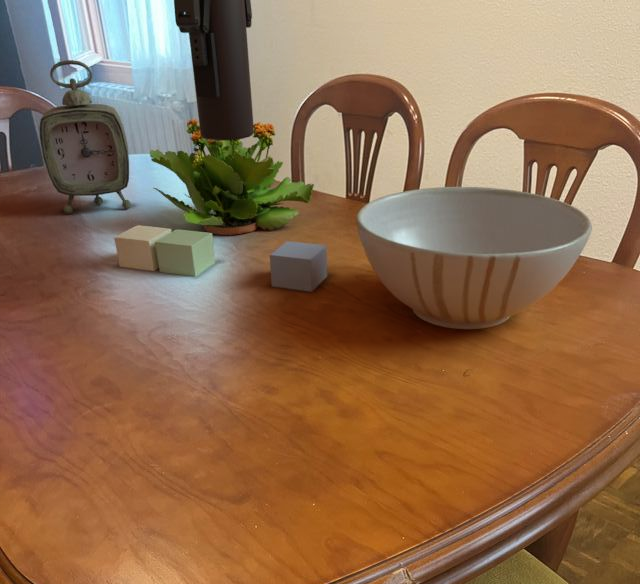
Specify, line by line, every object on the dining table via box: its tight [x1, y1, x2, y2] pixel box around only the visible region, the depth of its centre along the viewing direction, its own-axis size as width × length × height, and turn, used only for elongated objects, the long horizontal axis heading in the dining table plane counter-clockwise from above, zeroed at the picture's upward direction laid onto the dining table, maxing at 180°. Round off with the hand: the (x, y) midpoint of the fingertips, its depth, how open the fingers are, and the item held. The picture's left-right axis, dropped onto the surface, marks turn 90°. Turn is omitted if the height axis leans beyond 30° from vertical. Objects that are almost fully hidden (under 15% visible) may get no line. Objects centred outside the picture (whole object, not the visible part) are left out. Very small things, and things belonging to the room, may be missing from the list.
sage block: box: [155, 228, 216, 277], centre depth 96 cm, size 6×6×5 cm
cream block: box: [113, 224, 173, 272], centre depth 99 cm, size 6×6×5 cm
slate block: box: [269, 240, 328, 292], centre depth 91 cm, size 6×6×5 cm
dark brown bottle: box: [188, 0, 254, 141], centre depth 78 cm, size 7×7×20 cm
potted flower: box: [149, 118, 315, 236], centre depth 110 cm, size 25×24×18 cm
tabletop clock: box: [39, 59, 132, 215], centre depth 120 cm, size 14×9×25 cm, turn 104°
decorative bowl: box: [355, 186, 593, 330], centre depth 80 cm, size 27×27×12 cm
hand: (223, 91), depth 81 cm, fingers closed on dark brown bottle, 7 cm apart
